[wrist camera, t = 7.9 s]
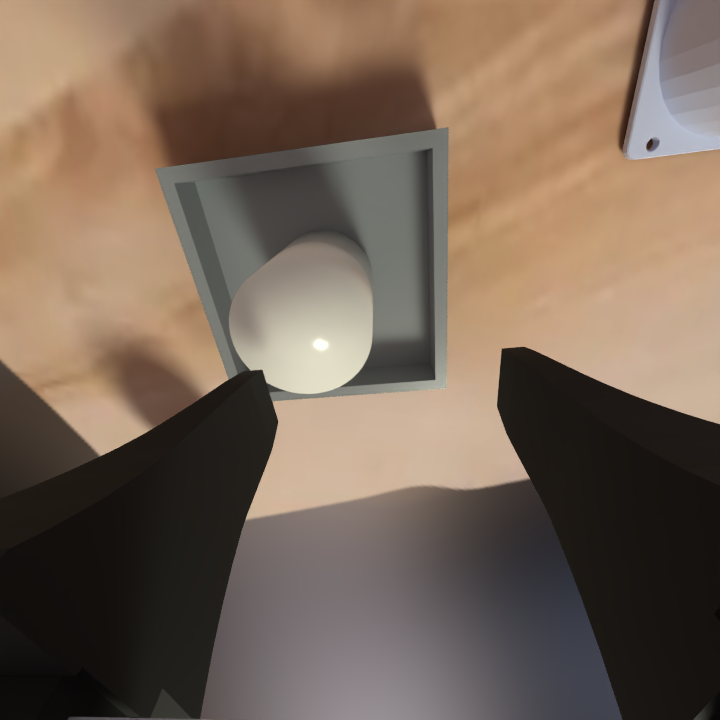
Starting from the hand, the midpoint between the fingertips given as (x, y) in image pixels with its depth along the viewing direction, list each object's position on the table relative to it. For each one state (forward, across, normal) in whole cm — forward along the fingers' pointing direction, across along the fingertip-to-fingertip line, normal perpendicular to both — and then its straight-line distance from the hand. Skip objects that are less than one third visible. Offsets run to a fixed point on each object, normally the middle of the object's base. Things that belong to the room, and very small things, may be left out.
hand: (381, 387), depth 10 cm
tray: (+10, +3, -1) cm, 10 cm away
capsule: (+9, +3, -1) cm, 9 cm away
